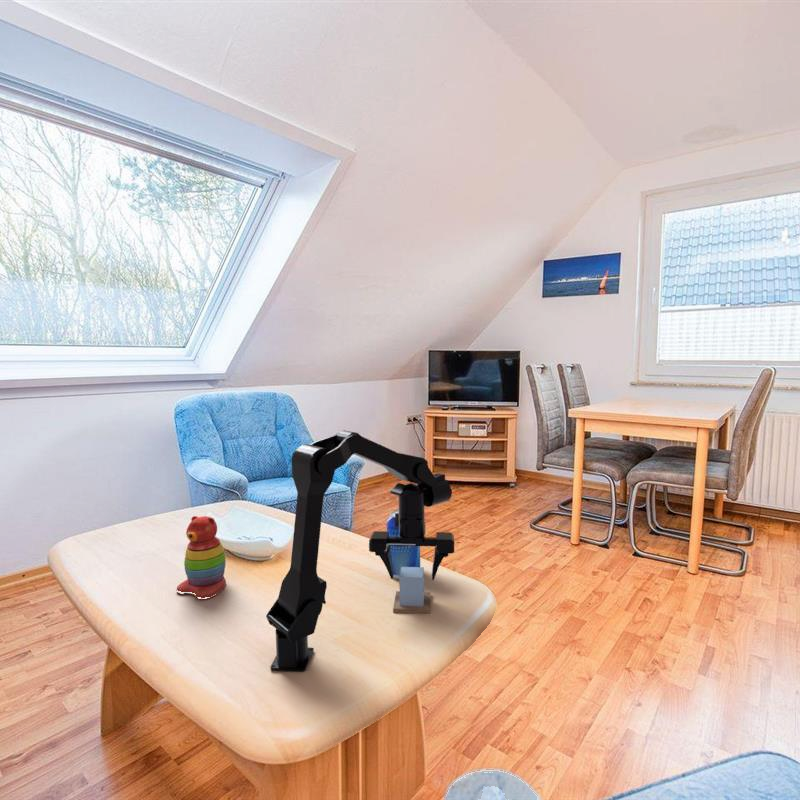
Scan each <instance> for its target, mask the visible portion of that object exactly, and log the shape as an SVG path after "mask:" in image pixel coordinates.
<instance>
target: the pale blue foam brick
mask: <svg viewBox="0 0 800 800" xmlns="http://www.w3.org/2000/svg"><path fill="white" fill-rule="evenodd" d="M398 581H399V586H398V587H399V591H400V606H423V604H424V592H425V568H424V566H423V567H422V566H420V567H401V571H400V576H399V579H398Z"/></svg>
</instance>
